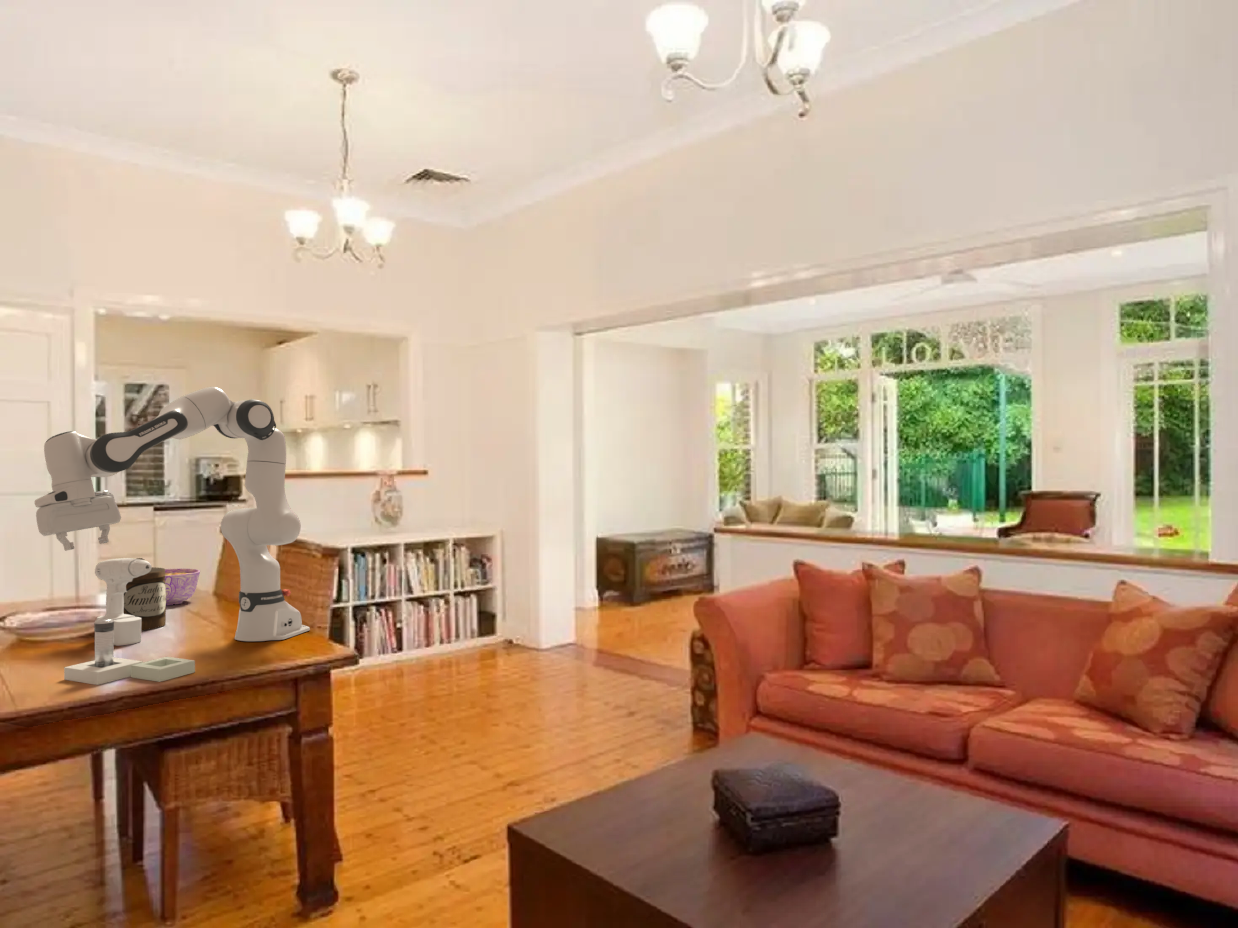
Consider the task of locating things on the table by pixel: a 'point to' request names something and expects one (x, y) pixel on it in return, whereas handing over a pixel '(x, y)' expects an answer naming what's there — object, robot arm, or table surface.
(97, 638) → the clear capped tube
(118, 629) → the power drill
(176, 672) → the block
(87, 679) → the socket block
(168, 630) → the table surface
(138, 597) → the brown cylinder
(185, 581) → the bowl of food
